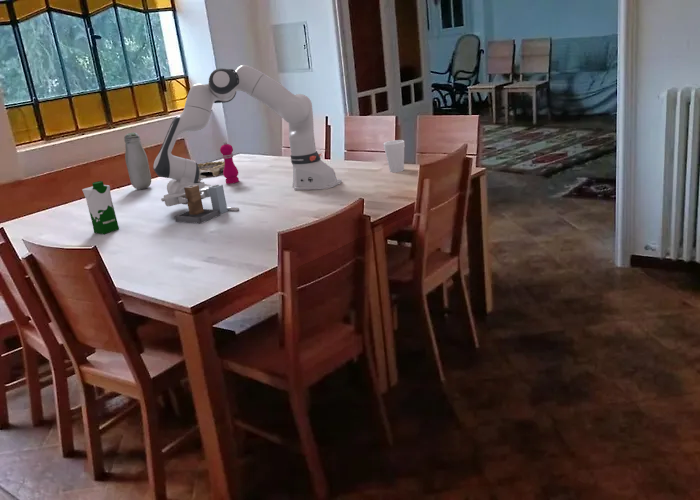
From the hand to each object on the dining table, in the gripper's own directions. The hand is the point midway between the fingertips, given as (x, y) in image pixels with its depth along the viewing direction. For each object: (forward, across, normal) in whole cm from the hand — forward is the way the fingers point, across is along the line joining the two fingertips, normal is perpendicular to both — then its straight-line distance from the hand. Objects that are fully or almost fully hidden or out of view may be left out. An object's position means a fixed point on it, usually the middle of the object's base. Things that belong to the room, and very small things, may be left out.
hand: (194, 198), depth 271 cm
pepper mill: (-52, +33, +8) cm, 62 cm away
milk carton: (-16, -33, +8) cm, 38 cm away
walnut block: (-1, 0, +6) cm, 6 cm away
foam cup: (+2, +92, +9) cm, 93 cm away
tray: (-1, 0, +8) cm, 8 cm away
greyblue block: (-2, +10, +8) cm, 13 cm away
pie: (-88, +34, +9) cm, 94 cm away
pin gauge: (-2, +14, +8) cm, 16 cm away
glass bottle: (-84, -4, +8) cm, 84 cm away
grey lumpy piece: (-59, +16, +8) cm, 62 cm away
